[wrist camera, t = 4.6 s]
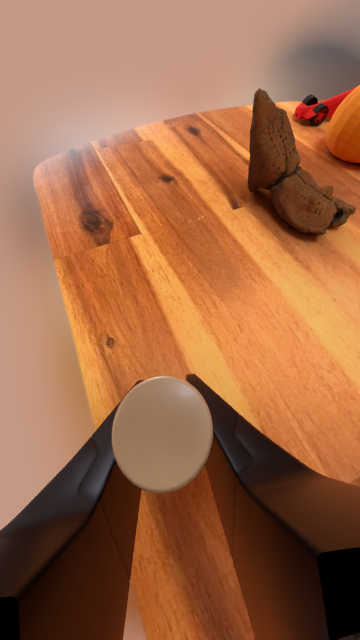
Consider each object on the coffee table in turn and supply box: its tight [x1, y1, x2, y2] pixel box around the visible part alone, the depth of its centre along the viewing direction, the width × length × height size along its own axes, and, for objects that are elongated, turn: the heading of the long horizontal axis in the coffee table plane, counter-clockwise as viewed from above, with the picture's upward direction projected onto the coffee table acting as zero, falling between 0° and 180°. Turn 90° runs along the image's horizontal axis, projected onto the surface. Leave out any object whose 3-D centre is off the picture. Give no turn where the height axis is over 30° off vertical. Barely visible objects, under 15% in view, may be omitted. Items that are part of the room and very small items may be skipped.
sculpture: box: [248, 89, 356, 235], centre depth 21 cm, size 8×10×15 cm
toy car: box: [294, 88, 355, 126], centre depth 37 cm, size 6×18×5 cm, turn 101°
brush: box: [112, 376, 213, 493], centre depth 9 cm, size 3×3×12 cm
